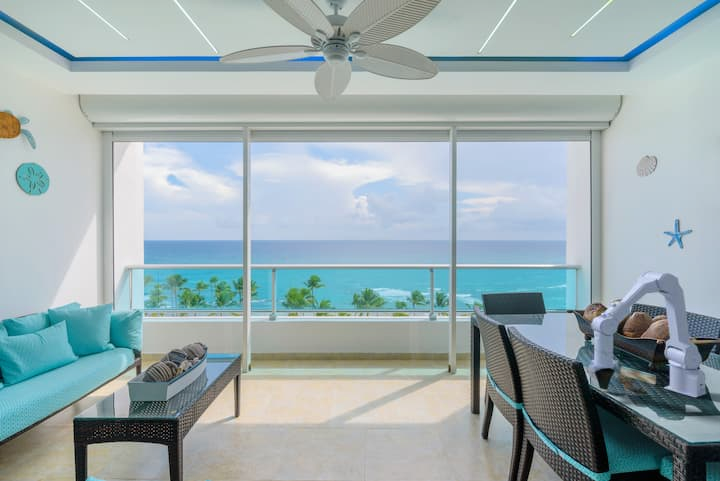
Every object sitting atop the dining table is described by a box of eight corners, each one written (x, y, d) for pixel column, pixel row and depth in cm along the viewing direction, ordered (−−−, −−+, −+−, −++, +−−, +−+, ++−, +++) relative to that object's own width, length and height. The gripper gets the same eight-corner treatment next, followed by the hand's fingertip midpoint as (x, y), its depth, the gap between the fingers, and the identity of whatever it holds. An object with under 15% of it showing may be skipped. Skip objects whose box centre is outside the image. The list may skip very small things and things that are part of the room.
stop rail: (656, 383, 148) (656, 375, 148) (654, 384, 148) (654, 375, 148) (622, 374, 159) (622, 366, 159) (620, 374, 159) (620, 366, 159)
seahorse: (631, 392, 140) (631, 387, 140) (613, 378, 155) (613, 373, 155) (648, 395, 139) (649, 389, 139) (628, 380, 154) (629, 375, 154)
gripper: (604, 345, 148) (604, 381, 148) (580, 350, 141) (580, 388, 142) (624, 350, 142) (624, 387, 142) (600, 355, 135) (599, 395, 135)
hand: (603, 388), depth 141 cm, fingers closed
